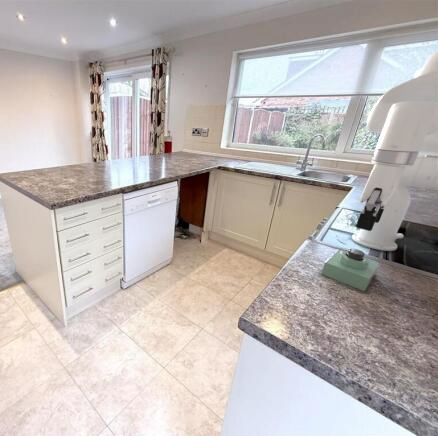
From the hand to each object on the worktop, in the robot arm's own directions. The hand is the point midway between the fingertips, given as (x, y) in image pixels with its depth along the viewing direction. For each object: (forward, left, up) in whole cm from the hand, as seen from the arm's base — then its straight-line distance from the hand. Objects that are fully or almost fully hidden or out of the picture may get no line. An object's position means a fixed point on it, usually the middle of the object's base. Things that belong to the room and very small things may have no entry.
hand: (367, 224), depth 65 cm
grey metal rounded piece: (0, 0, -10) cm, 10 cm away
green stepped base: (0, 0, -16) cm, 16 cm away
